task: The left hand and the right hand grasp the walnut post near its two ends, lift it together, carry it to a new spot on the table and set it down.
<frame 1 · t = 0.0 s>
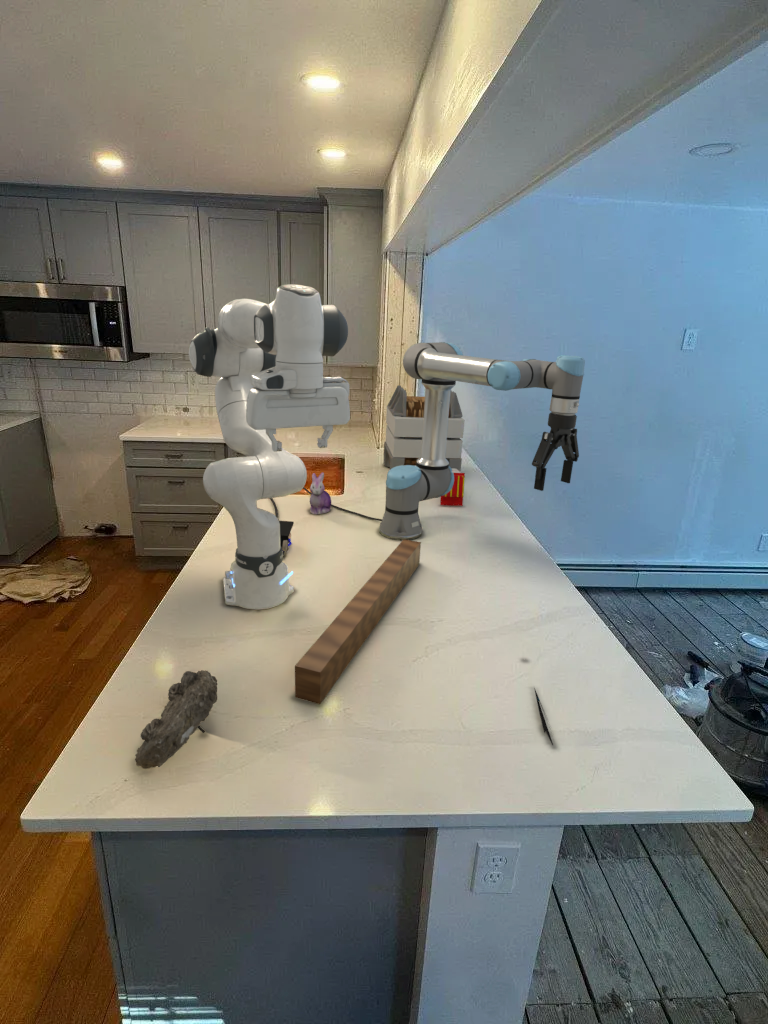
left hand: (300, 449, 111), 48 cm above the counter, tool pointing down, fingers open, 8 cm apart
right hand: (552, 485, 166), 28 cm above the counter, tool pointing down, fingers open, 13 cm apart
feather: (536, 699, 117), on the counter
red striped box: (446, 495, 244), on the counter
figurine character: (281, 549, 183), on the counter
fossil: (184, 730, 104), on the counter
figurine: (320, 511, 218), on the counter
post: (370, 616, 146), on the counter
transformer: (419, 473, 275), on the counter
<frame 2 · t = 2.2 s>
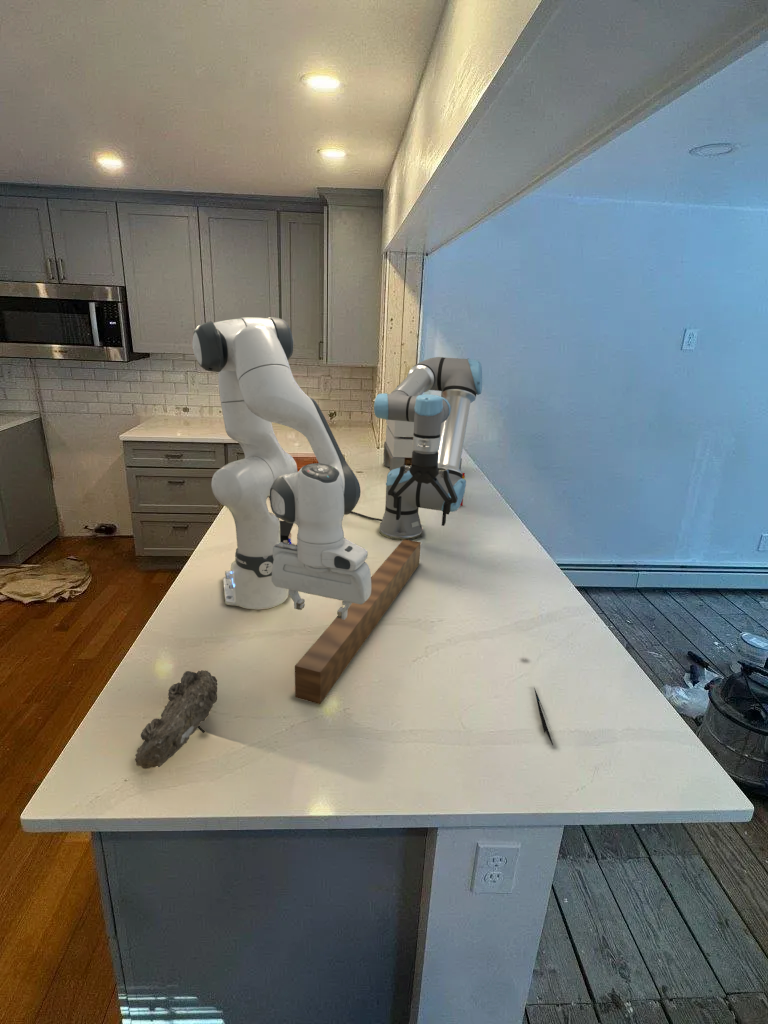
left hand: (320, 612, 113), 17 cm above the counter, tool pointing down, fingers open, 8 cm apart
right hand: (420, 521, 167), 16 cm above the counter, tool pointing down, fingers open, 13 cm apart
nothing on the counter moved.
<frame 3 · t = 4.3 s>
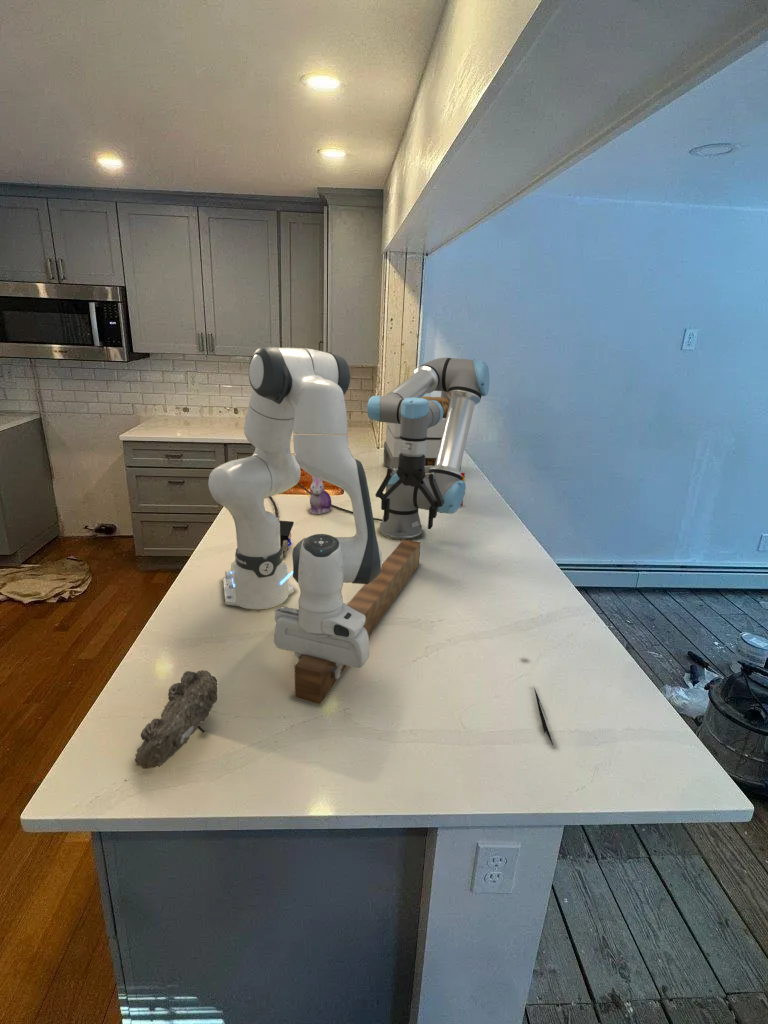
left hand: (320, 673, 118), 3 cm above the counter, tool pointing down, fingers closed on post, 5 cm apart
right hand: (407, 524, 167), 15 cm above the counter, tool pointing down, fingers open, 13 cm apart
post: (370, 616, 146), on the counter, touching left hand
everything else where it was.
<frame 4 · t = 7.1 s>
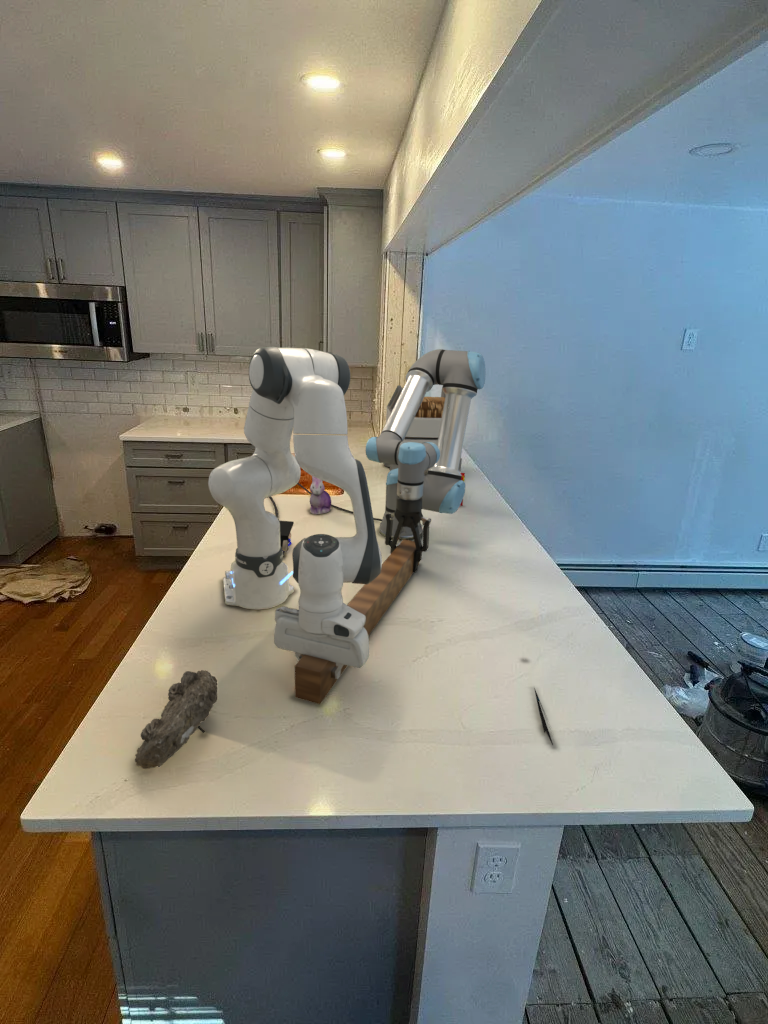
left hand: (320, 673, 118), 3 cm above the counter, tool pointing down, fingers closed on post, 5 cm apart
right hand: (405, 568, 172), 1 cm above the counter, tool pointing down, fingers closed on post, 6 cm apart
post: (370, 616, 146), on the counter, touching right hand, left hand
everything else where it was.
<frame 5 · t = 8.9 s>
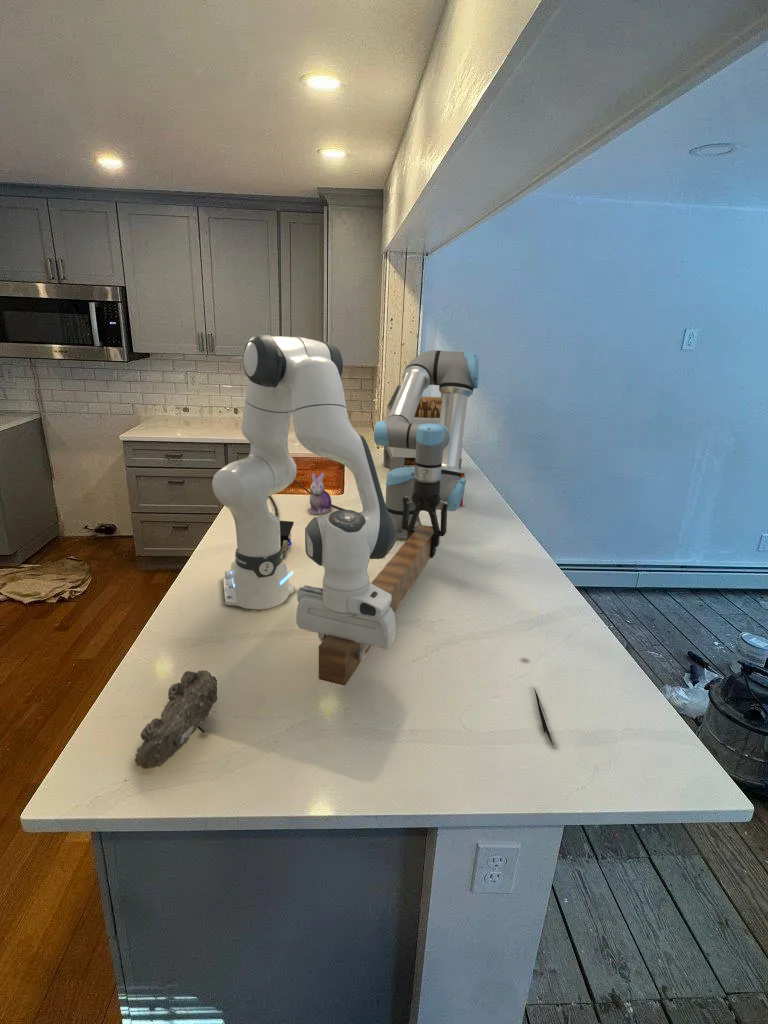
left hand: (344, 654, 114), 9 cm above the counter, tool pointing down, fingers closed on post, 5 cm apart
right hand: (422, 553, 169), 6 cm above the counter, tool pointing down, fingers closed on post, 6 cm apart
post: (390, 600, 142), point 6 cm above the counter, touching right hand, left hand
everything else where it was.
when the right hand's fingers open (2 cm above the counter, at t = 10.8 s): post drops 1 cm, on the counter.
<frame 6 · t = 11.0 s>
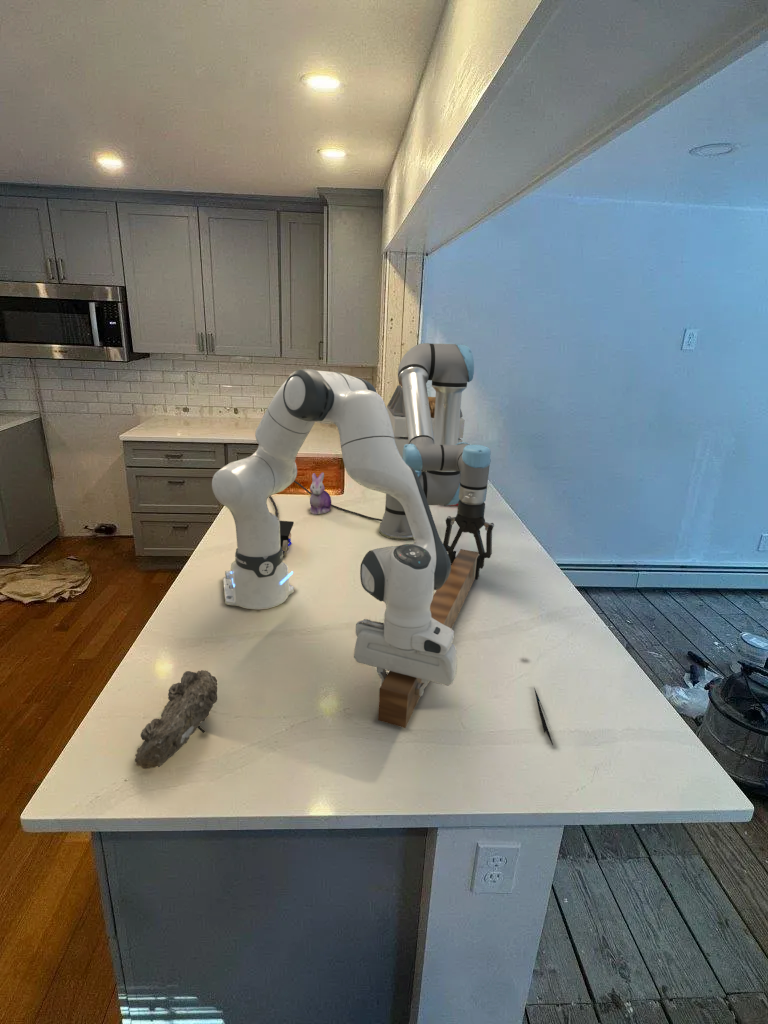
left hand: (402, 689, 112), 4 cm above the counter, tool pointing down, fingers closed on post, 5 cm apart
right hand: (464, 575, 166), 2 cm above the counter, tool pointing down, fingers open, 7 cm apart
post: (438, 631, 140), on the counter, touching left hand
everything else where it was.
when the left hand's fingers open (4 cm above the counter, at t = 11.0 s): post stays where it is, on the counter.
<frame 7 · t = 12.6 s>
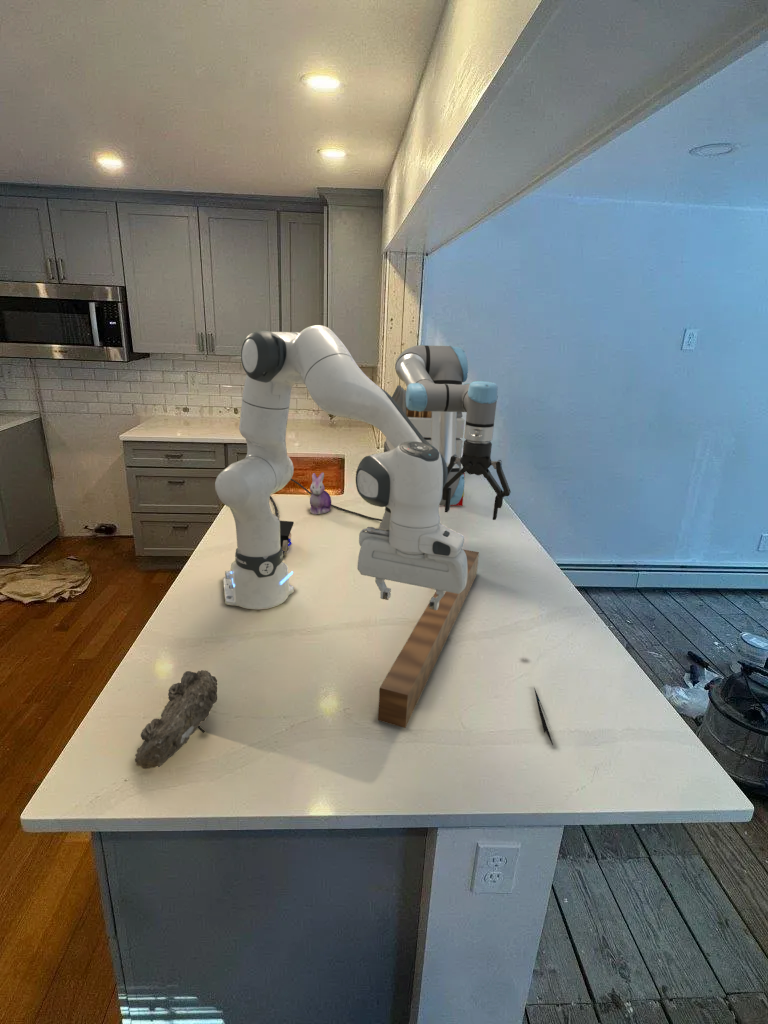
left hand: (409, 603, 106), 23 cm above the counter, tool pointing down, fingers open, 8 cm apart
right hand: (470, 514, 160), 21 cm above the counter, tool pointing down, fingers open, 13 cm apart
post: (438, 631, 140), on the counter
everything else where it was.
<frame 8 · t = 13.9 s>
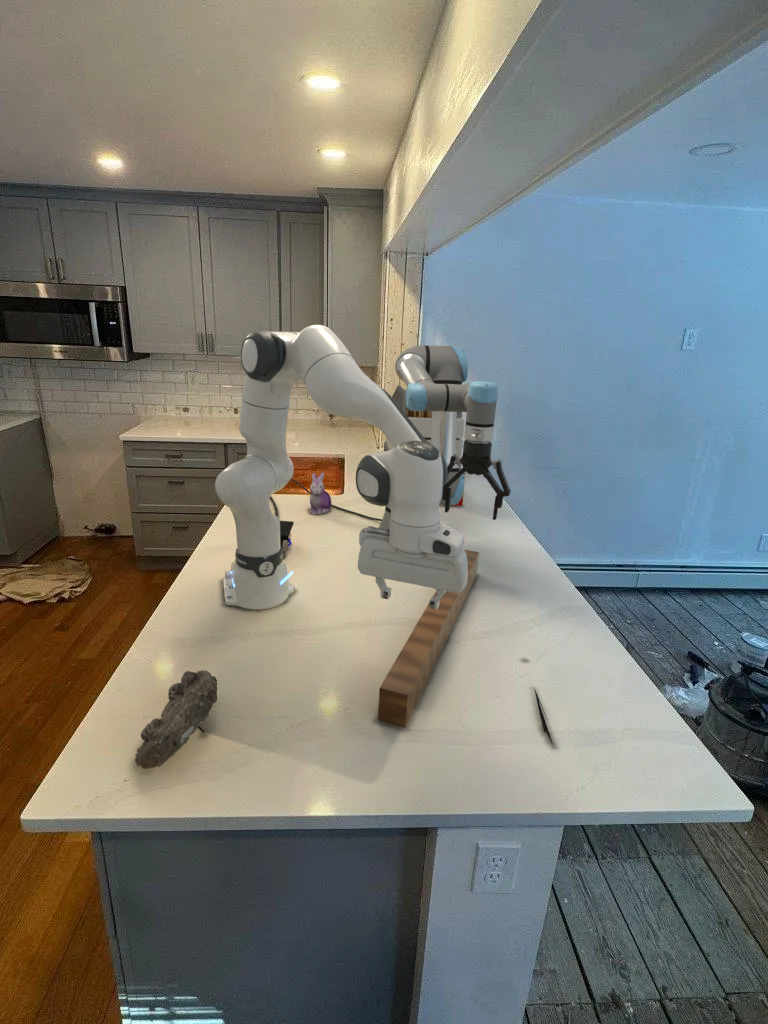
left hand: (409, 602, 106), 23 cm above the counter, tool pointing down, fingers open, 8 cm apart
right hand: (470, 514, 160), 21 cm above the counter, tool pointing down, fingers open, 13 cm apart
nothing on the counter moved.
at the end: post inside the target area (0.2 cm from its centre), on the counter; post tilted 0°; post never tilted more than 1° during the clip; both hands held the post at the same time; the left hand is holding nothing; the right hand is holding nothing; post at rest at the end (0.0 cm/s) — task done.
